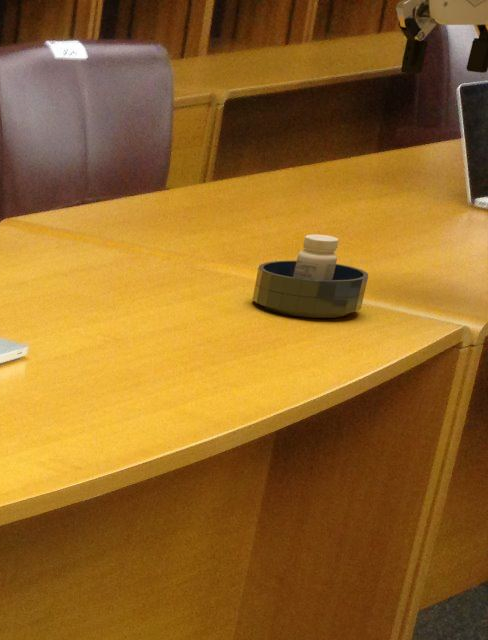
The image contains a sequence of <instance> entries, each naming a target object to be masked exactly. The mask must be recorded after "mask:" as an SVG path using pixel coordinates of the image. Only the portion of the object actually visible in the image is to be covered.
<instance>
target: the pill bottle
mask: <svg viewBox="0 0 488 640" xmlns="http://www.w3.org/2000/svg"><path fill="white" fill-rule="evenodd" d="M338 244H339V238H338V237H336V236H332V235H327V234H307V235H305V236H304V240H303V246H302V247H303V248H304V249H302V250H300V251H299V252H298V254H297V258H296V261H297V262H296V266H295V270H294V275H293V277H295V278H302V279H313V280H332V279H333V274H334V270H335V266H336V264H337V261H338V255H337V253H335V252H336V251H337V249H338Z"/></svg>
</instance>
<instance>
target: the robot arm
mask: <svg viewBox="0 0 488 640" xmlns="http://www.w3.org/2000/svg"><path fill="white" fill-rule="evenodd" d="M414 9H415V11H414ZM395 10H396V14H397V19H398V27H399V28H400V30H401V32H402V34H403V35H402V37H403V39H404V40H406V42H405V48H404V53H403V56H402V61H401V63H402V64H401V69H400V71H401V73H403V74H404V73H405V74H413V75H419V74H421V73H422V72H423V67H424V63H425V59H426V55H427V51H428V50H427V49H428V45H429V42H428V40H425V38H426V37H428V35H429V34H430V33H431V32H432V31H433V30H434V29H435V28H436V26H437V25H438V24H439V25H441V26H442V25H443V26H473V27H474V29H475V31H476V33H477V35H478V37H474V38H473V41H472V43H471V46H470V52H469V55H468V59H467V64H466V71H467V72H472V73H483V74H484V73H487V72H488V0H401V1H399V2H398V3H396V6H395ZM413 11H414V12H415V13H414V12H413ZM413 13H414V14H415V15H414V14H413ZM413 15H414V17H415V18H414V17H413Z"/></svg>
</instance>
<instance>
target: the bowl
mask: <svg viewBox="0 0 488 640" xmlns="http://www.w3.org/2000/svg"><path fill="white" fill-rule="evenodd" d="M296 262H297V260H274V261H268V262H264V263H261V264H259V266H258V268H257V273H256V278H255V284H254V289H253V295H252V300H253V302H255V303H256V304H258V305H260V306H262V308H264V309H265V310H267V311H270V312H272V313H276V314H280V315H284V316H289V317H297V318H307V319H308V318H309V319H334V318H341V317H346V316H348V315H350V313H355V312H357V311H360V310H361V309H362V307H363V302H364V297H365V292H366V288H367V284H368V280H369V273H368V272H366V270H363V269H360V268H357V267H354V266H350V265H346V264H341V263H340V264H339V263H336V266H335V270H334V274H333V279H332V280H313V279H302V278H295V277H293V275H294V270H295V266H296Z"/></svg>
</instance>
